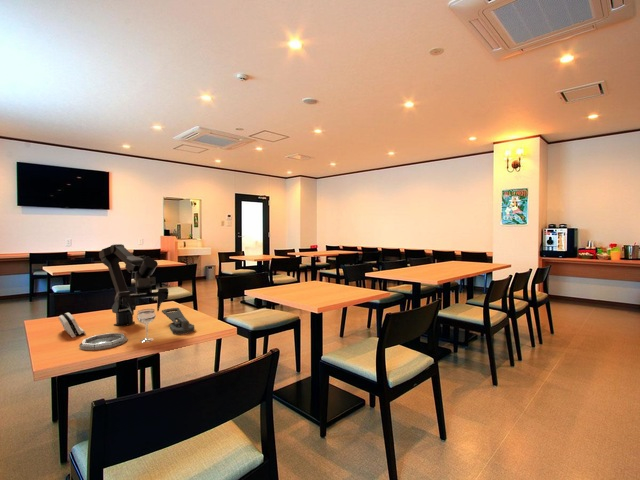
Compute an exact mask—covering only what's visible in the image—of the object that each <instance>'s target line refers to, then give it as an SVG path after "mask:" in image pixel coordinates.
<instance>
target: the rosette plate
mask: <svg viewBox="0 0 640 480" xmlns="http://www.w3.org/2000/svg"><path fill="white" fill-rule="evenodd" d="M127 341H128V337H127V336H126V335H125V334H124V333H121V332H120V333H119V332H108V333H102V334H95V335H91V336H89V337H87V338H83V339H82V342H81V343H80V344H79V346H78V347H79V350H81V351H86V352H89V351H90V352H91V351H102V350H107V349H112V348H116V347H119V346H122V345H123V344H126V343H127Z"/></svg>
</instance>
